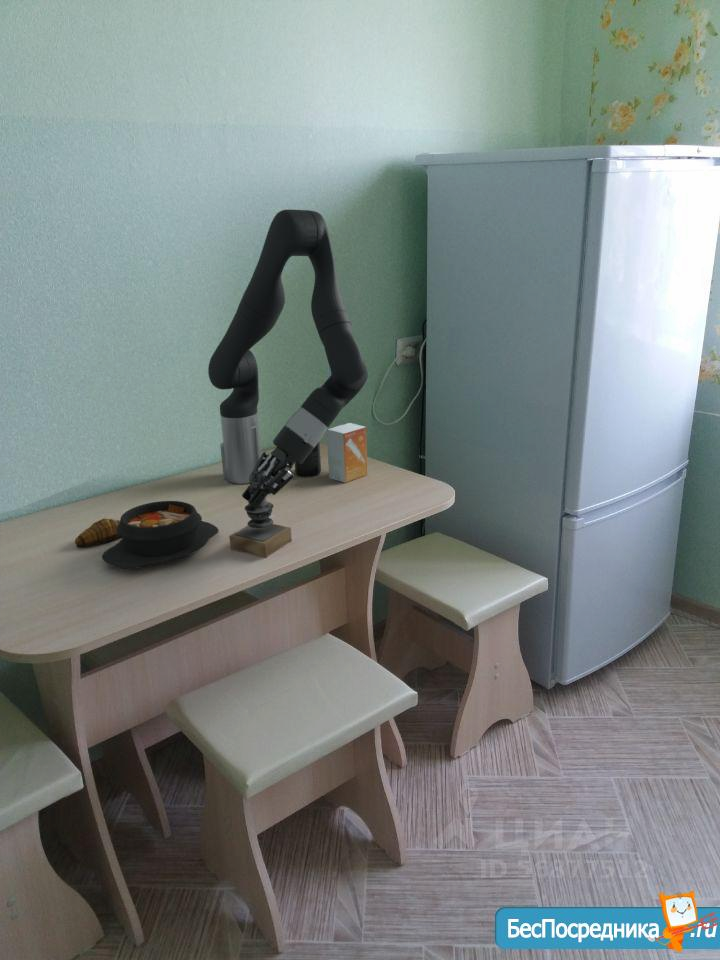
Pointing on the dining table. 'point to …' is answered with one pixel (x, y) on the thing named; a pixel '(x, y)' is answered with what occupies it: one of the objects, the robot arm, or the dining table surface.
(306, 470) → the supplement bottle
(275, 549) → the wooden picture frame
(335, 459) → the small box
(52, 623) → the dining table surface
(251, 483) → the dark grey chess piece
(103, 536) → the croissant
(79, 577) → the dining table surface
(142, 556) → the casserole
